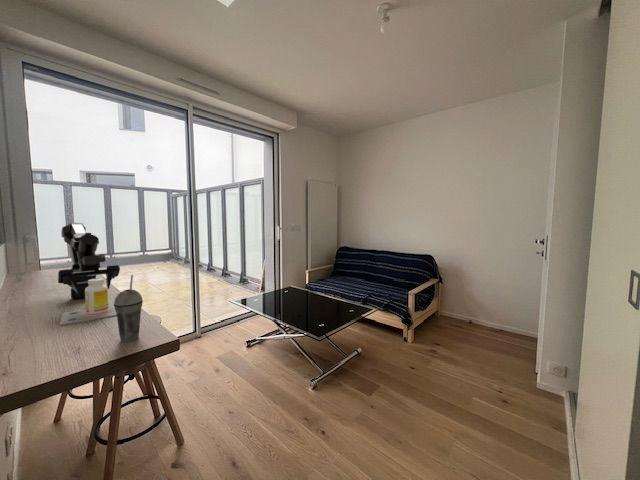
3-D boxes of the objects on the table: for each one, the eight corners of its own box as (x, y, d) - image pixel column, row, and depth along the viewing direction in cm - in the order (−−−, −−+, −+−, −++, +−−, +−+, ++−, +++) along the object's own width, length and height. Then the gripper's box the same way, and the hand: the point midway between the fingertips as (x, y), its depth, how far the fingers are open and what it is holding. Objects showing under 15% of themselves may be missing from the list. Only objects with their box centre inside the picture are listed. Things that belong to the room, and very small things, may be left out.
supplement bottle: (112, 308, 103) (111, 277, 102) (100, 314, 96) (99, 281, 95) (93, 309, 102) (92, 277, 101) (80, 315, 95) (79, 281, 94)
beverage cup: (109, 341, 77) (107, 276, 76) (134, 332, 84) (132, 272, 83) (124, 346, 74) (122, 279, 73) (149, 336, 81) (147, 274, 80)
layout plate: (116, 305, 108) (116, 304, 108) (118, 315, 98) (118, 313, 98) (63, 314, 97) (63, 312, 97) (59, 326, 87) (59, 324, 87)
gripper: (57, 249, 97) (62, 283, 91) (118, 246, 111) (126, 275, 105) (55, 266, 102) (60, 299, 96) (114, 261, 117) (121, 290, 111)
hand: (94, 290), depth 102 cm, fingers open, 9 cm apart
